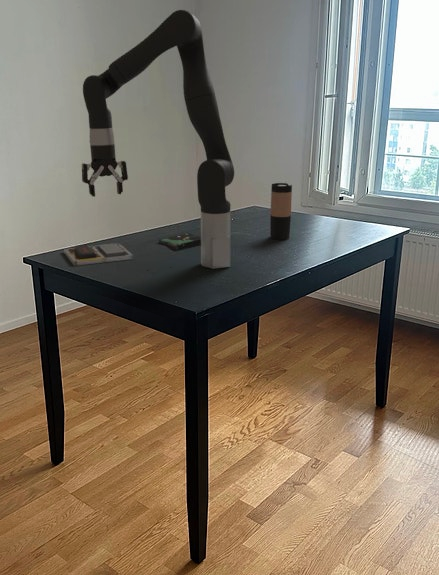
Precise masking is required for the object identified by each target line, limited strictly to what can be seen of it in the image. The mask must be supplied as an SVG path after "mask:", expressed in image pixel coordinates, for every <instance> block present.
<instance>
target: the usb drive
mask: <svg viewBox="0 0 439 575" xmlns="http://www.w3.org/2000/svg"><path fill="white" fill-rule="evenodd" d="M88 246H89V245H87V244H82V245H76V246H74V248H75V249H74V253H75V256H76V257H77V258H78V259H79V260H80V259H89V258H97V254H96V253H95V252H94V251H93V250H92V249H91V248H90V247H88Z"/></svg>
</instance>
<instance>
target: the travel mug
mask: <svg viewBox="0 0 439 575" xmlns="http://www.w3.org/2000/svg"><path fill="white" fill-rule="evenodd" d="M292 194H293V184H291V185H289V183H287V182H277V183H275V182H274V183H272V184H271V193H270V196H271V198H270V216H269V217H270V226H269V227H270V232H269V234H270V236H269V237H270V239H273V240H277V241H278V240H280V241H282V240H283V241H284V240H288V239H290V232H291V218H292V198H293V197H292Z"/></svg>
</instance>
